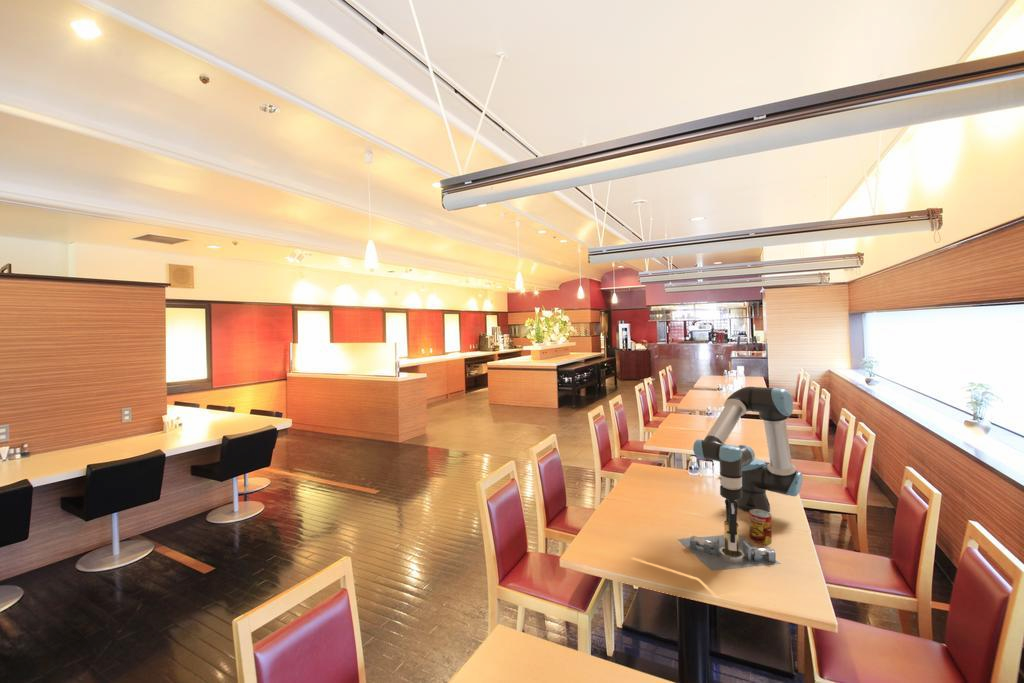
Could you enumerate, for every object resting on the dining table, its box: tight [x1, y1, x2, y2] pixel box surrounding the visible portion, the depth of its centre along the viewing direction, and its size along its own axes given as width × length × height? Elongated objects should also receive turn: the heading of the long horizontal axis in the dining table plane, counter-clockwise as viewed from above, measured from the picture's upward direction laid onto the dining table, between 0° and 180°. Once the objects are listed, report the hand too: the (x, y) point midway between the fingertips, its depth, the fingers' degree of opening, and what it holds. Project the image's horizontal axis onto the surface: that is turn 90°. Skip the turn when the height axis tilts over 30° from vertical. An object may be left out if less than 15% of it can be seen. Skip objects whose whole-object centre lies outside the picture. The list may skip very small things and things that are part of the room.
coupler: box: [723, 520, 739, 555], centre depth 160 cm, size 5×5×11 cm
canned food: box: [749, 509, 773, 545], centre depth 174 cm, size 8×8×12 cm
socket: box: [720, 547, 745, 563], centre depth 160 cm, size 8×8×2 cm
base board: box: [677, 533, 782, 572], centre depth 165 cm, size 28×24×1 cm
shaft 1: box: [689, 535, 719, 556], centre depth 166 cm, size 10×5×5 cm, turn 53°
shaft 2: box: [743, 541, 777, 562], centre depth 159 cm, size 10×5×5 cm, turn 83°
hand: (731, 546), depth 160 cm, fingers closed on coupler, 5 cm apart
